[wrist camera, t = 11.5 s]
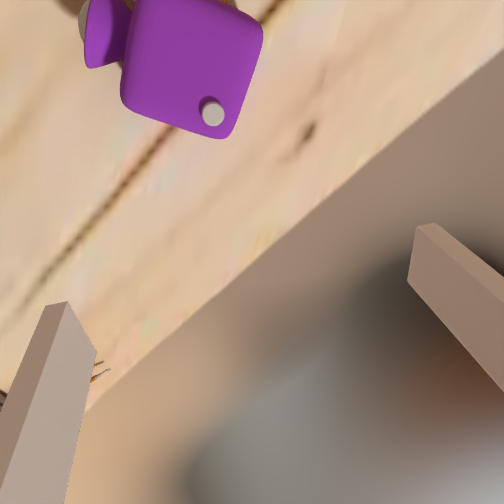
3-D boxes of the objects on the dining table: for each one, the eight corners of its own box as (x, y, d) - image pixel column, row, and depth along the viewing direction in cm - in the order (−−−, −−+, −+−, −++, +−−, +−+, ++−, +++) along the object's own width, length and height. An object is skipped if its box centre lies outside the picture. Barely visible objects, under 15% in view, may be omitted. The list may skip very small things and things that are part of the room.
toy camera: (87, -42, 29) (53, -63, 21) (251, -3, 32) (278, -8, 24) (95, 100, 34) (70, 127, 26) (233, 120, 38) (250, 150, 30)
